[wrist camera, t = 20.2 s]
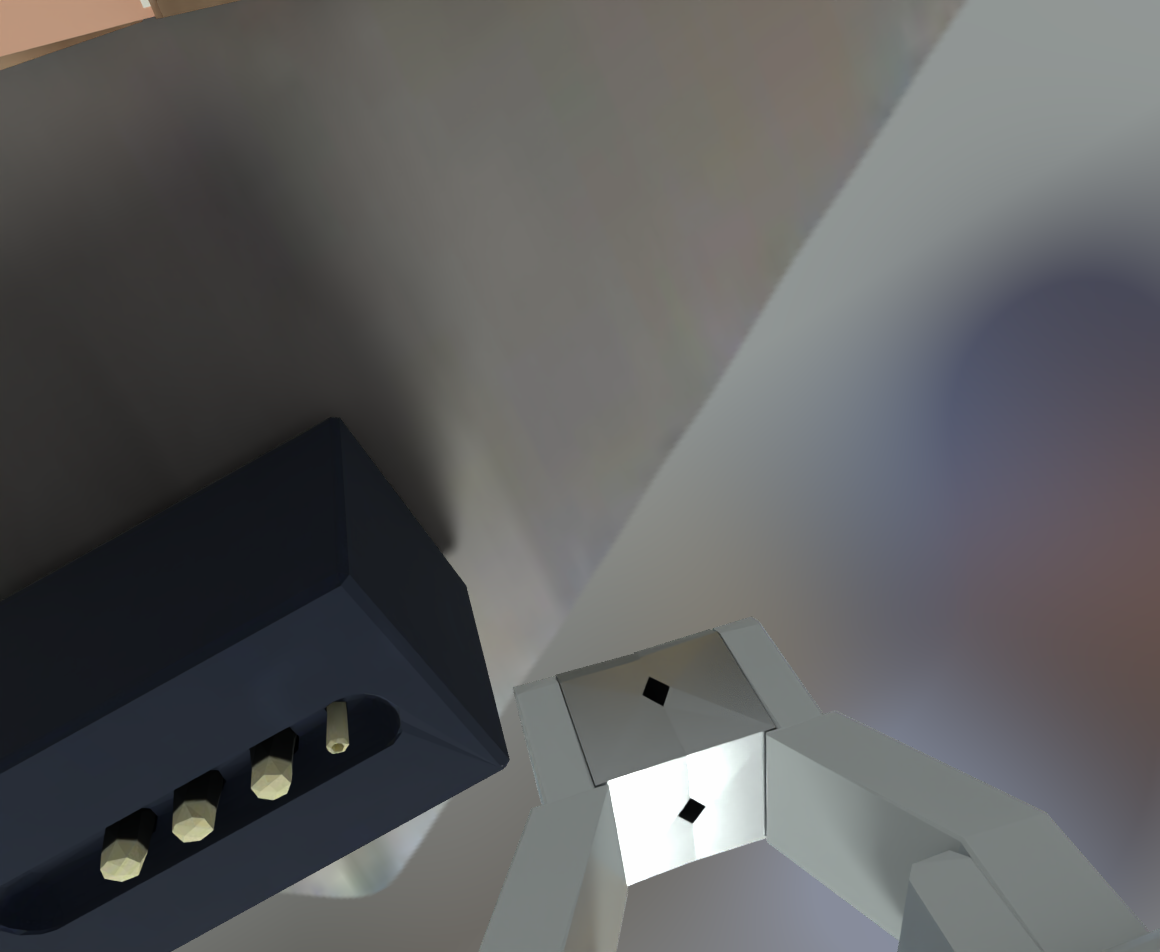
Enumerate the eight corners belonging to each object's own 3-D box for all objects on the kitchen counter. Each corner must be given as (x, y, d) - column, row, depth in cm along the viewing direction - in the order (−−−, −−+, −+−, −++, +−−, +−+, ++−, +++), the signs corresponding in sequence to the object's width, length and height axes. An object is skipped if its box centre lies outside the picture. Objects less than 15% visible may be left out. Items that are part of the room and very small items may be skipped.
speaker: (135, 753, 47) (72, 1028, 35) (-52, 613, 40) (-215, 897, 28) (464, 571, 47) (518, 783, 35) (335, 397, 40) (345, 587, 28)
